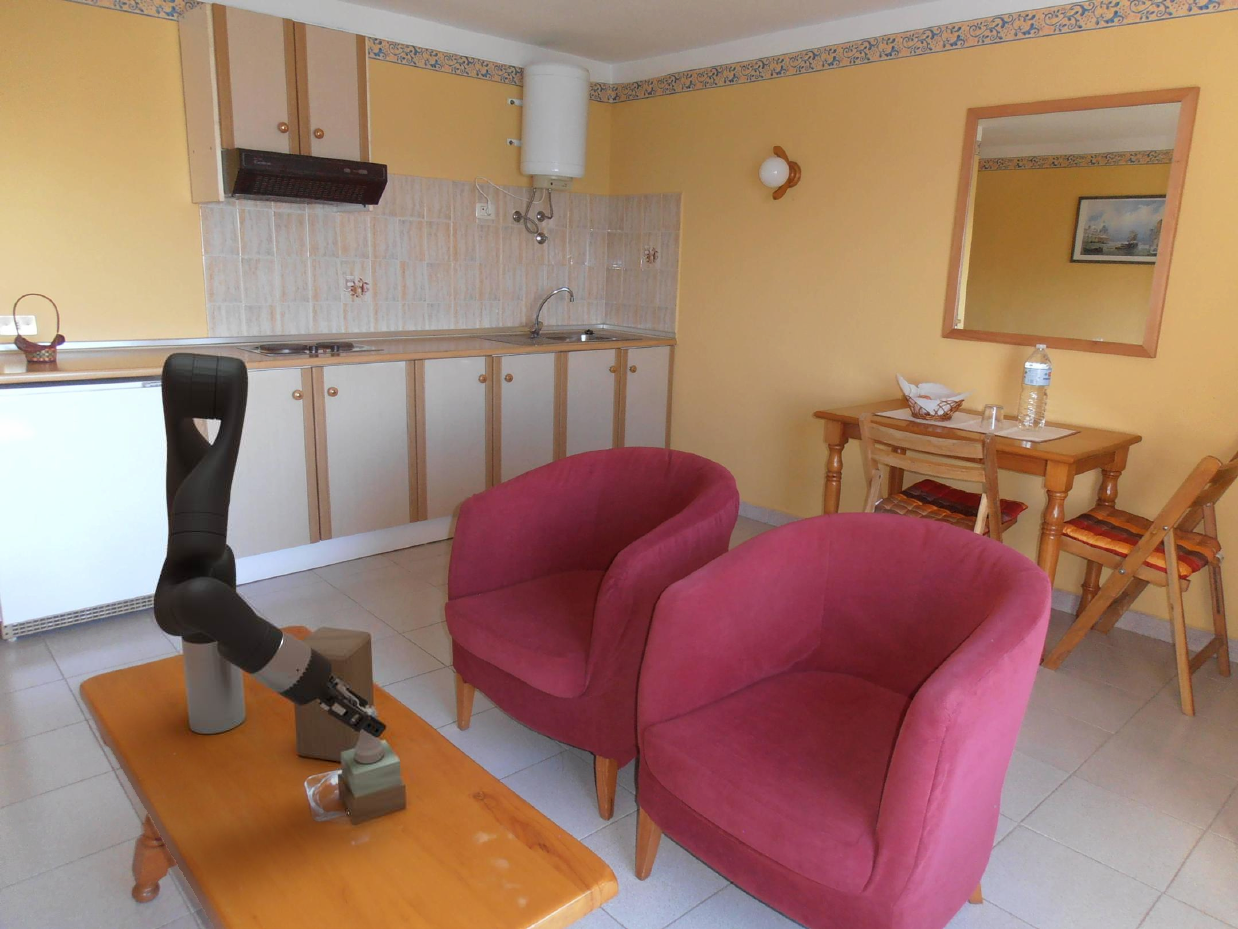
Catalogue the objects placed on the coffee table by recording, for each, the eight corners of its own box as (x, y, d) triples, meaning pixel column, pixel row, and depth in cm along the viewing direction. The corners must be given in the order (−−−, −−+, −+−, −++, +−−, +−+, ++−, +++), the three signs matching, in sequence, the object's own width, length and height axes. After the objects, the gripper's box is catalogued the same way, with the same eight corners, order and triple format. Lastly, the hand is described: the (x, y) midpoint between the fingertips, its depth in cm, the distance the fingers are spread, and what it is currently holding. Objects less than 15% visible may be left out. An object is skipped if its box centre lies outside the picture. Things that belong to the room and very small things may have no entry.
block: (349, 765, 144) (343, 655, 139) (294, 757, 146) (287, 648, 141) (377, 734, 153) (373, 630, 149) (326, 727, 155) (320, 624, 151)
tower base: (338, 797, 135) (336, 751, 133) (388, 781, 140) (387, 737, 138) (354, 825, 129) (352, 777, 127) (406, 807, 133) (404, 761, 131)
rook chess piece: (357, 749, 134) (355, 702, 132) (386, 748, 134) (385, 702, 133) (351, 765, 130) (348, 717, 128) (381, 765, 130) (379, 717, 128)
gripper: (321, 665, 118) (405, 719, 126) (295, 628, 129) (373, 680, 138) (283, 710, 116) (371, 762, 125) (260, 669, 127) (342, 718, 136)
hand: (372, 718), depth 131 cm, fingers open, 8 cm apart
